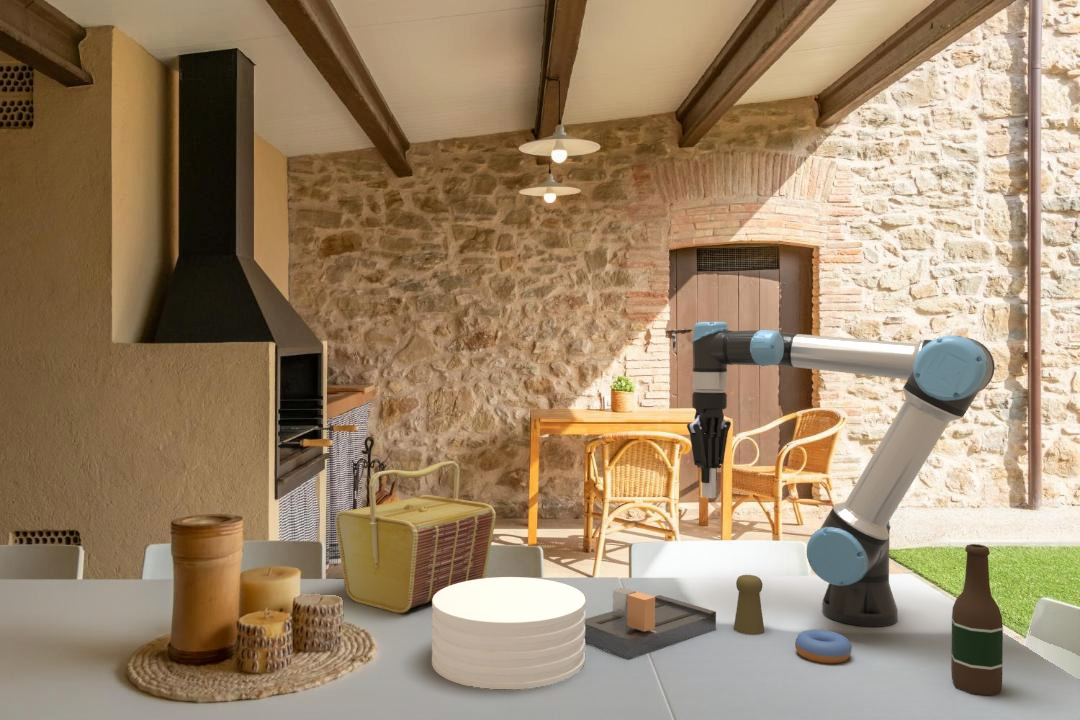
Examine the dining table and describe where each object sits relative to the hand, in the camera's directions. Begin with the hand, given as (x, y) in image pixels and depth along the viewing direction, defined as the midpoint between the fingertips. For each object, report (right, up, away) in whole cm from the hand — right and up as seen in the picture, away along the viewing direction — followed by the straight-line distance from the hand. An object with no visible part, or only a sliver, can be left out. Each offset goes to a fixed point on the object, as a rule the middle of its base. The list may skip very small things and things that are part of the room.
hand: (708, 497), depth 182 cm
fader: (-18, -21, -25) cm, 37 cm away
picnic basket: (-66, -24, +8) cm, 71 cm away
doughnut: (+15, -25, -29) cm, 41 cm away
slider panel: (-16, -24, -18) cm, 34 cm away
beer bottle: (+36, -25, -44) cm, 62 cm away
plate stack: (-43, -25, -32) cm, 59 cm away
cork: (+5, -25, -15) cm, 29 cm away
